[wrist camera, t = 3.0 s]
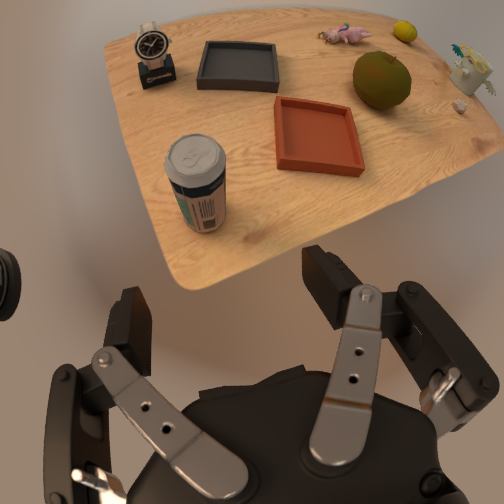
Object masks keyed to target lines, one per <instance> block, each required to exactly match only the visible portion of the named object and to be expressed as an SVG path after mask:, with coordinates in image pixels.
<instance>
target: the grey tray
mask: <svg viewBox="0 0 504 504" xmlns="http://www.w3.org/2000/svg"><path fill="white" fill-rule="evenodd" d="M279 83H280V81H279V72H278V63H277V54H276V46H275V44H269V43H258V42H242V41H206V44H205V47H204V51H203V55H202V59H201V63H200V67H199V71H198V75H197V89H223V90H249V91H263V92H275V93H277V92H278V87H279Z"/></svg>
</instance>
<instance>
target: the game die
mask: <svg viewBox="0 0 504 504" xmlns="http://www.w3.org/2000/svg"><path fill="white" fill-rule="evenodd" d="M453 107H454V108H455V110H456V111H457V112H459V113H464V112H465V111H466V107H467V105H466V104H465V102H464V101H463V100H461V99H456V100H455V101H454V106H453Z"/></svg>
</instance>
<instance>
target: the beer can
mask: <svg viewBox="0 0 504 504" xmlns="http://www.w3.org/2000/svg"><path fill="white" fill-rule="evenodd" d="M164 167H165V171H166V174H167V176H168V178H169V181H170V183H171V186H172V189H173V191H174V194H175V196H176V199H177V201H178V204H179V207H180V209H181V212H182V214H183V217H184V220H185V222H186V224H187V225H188V226H189V227H190V228H191V229H193V230H194V231H197V232H202V233H205V232H210V231H213V230H215V229H217V228H218V227H219V226H220V225H221V224H222V223H223V221H224V219H225V215H226V155H225V152H224V150H223V148H222V147H221V146H220V144H219V143H217V142H216V141H215V140H214V139H213V138H212V137H209V136H206V135H203V134H200V133H195V134H190V135H184V136H182V137H181V138H180V139H178V140H177V141H176V142H175V143H173V144H172V145H171V147H170V149H169V151H168V153H167V155H166V157H165V162H164Z"/></svg>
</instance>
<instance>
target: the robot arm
mask: <svg viewBox="0 0 504 504" xmlns="http://www.w3.org/2000/svg"><path fill="white" fill-rule="evenodd" d="M302 277H303V281H304V284H305V286H306V287H307V289H308V290H309V292H310V293H311V295H312V296H313V298H314V300H315V301H316V303H317V304H318V305H319V307H320V309H321V310H322V312H323V313H324V315H325V317H326V318H327V320H328V321H329V323H330V324H331V326H332V328H333V329H334V330H336V329H340V328H343V330H342V334H341V339H340V343H339V347H338V351H337V355H336V358H335V362H334V366H333V370H332V373H327V372H323V371H306V370H305V367H304V365H303V364H302V365H299V366H296V367H293V368H290V369H287V370H283V371H280V372H277V373H276V374H274V375H272V376H270V377H268V378H266V379H264V380H263V381H261V382H259V383H257V384H255V385H249V386H222V387H217V388H213V389H208V390H203V391H199V397H200V399H198V400H196V401H194V402H192V403H191V404H189V405H188V406H187V407H186V408H185V409H183V410H182V411H181V412H180V411H179V410H177V409H176V408H175V407H174V406H173V405H172V404H171V403H170V402H169V401H168V400H167V399H165V398H164V397H163V396H162V395H161V394H160V393H159V392H158V391H157V390H156V389H155V388H154V387H153V386H152V385H151V384H150V383H149V382H148V381H147V380H146V379H145V378H144V377H146V376H151V338H152V316H151V312H150V310H149V308H148V305H147V303H146V301H145V299H144V297H143V294H142V292H141V290H140V288H139V287H138V286H136V287H132V288H127V289H124V290H123V292H122V296H121V301H116V303H115V304H114V305H113V307H112V308H111V311H110V315H109V319H108V326H107V329H106V334H105V339H104V344H103V348H101V349H100V350H98V351H97V352H96V353H95V354H94V356H93V358H92V362H91V364H89V365H87V366H85V367H83V368H81V369H78V370H77V369H76V368H75V367H74V366H73V365H71V364H64V365H62V366H60V367H59V368H58V369H57V370H56V371H55V372H54V374H53V377H52V382H51V388H50V394H49V401H48V408H47V416H46V425H45V438H44V457H43V481H44V498H45V503H46V504H469V502H468V500H467V498H466V496H465V495H464V493H463V492H462V491H461V490H460V489H459V488H458V487H457V486H456V485H455V484H454V483H453V482H451V481H450V480H449V478H448V477H447V476H446V475H445V474H444V473H443V471H442V469H441V467H440V463H439V460H438V451H437V440H438V439H439V438H441V437H442V436H444V435H445V434H447V433H448V432H455V431H458V430H459V429H461V428H462V427H463V426H464V425H465V424H467V423H468V422H469V421H470V420H471V419H472V418H474V417H475V416H476V415H477V414H478V413H479V412H480V411H481V410H482V409H483V408H484V407H485V406H487V405H488V403H490V402H491V401H492V400H493V399H494V398H495V397H496V395H497V394H498V391H499V380H498V377H497V375H496V374H495V373H494V371H493V370H492V369H491V367H490V366H489V364H488V363H487V362H486V360H485V359H484V358H483V356H482V355H481V354H480V352H479V351H478V350H477V348H476V347H475V346H474V345H473V343H472V342H471V341H470V340H469V338H468V337H467V336H466V335H465V333H464V332H463V331H462V330H461V329H460V327H459V326H458V325H457V324H456V323H455V322H454V320H453V319H452V318H451V317H450V316H449V315H448V313H447V312H446V311H445V310H444V309H443V308H442V307H441V305H440V304H439V303H438V302H437V301H436V300H435V299H434V298H433V297H432V296H431V295H430V294H429V292H428V291H427V290H426V289H425V288H424V287H423V286H422V285H420V284H419V283H417V282H413V281H405V282H402V283H401V284H400V285H399V287H398V290H397V292H385V293H381V291H380V290H379V289H378V288H376V287H375V286H372V285H368V284H363V283H362V282H361V281H360V280H359V279H358V278H357V277H356V276H355V274H354V273H353V272H352V271H351V270H350V269H349V268H348V267H347V266H346V265H345V264H344V263H343V261H342V260H340V258H339V257H338V256H336V255H334V254H332V253H330V252H327V253H325V252H324V251H323V250H322V249H321V248H320V246H318V245H313V246H309V247H305V248H302ZM8 286H9V276H8V269H7V266H6V263H5V261H4V260H3V258H2V257H1V256H0V309H1V308H2V306H3V305H4V303H5V300H6V297H7V293H8ZM415 326H416V327H417V329H418V330H419V331H420V333H421V334H422V335H421V334H420V333H419V331H418V330H417V329H416V327H415ZM383 338H388V339H389V341H390V342H391V344H392V345H393V347H394V348H395V350H396V351H397V353H398V354H399V356H400V357H401V359H402V361H403V362H404V363H405V365H406V367H407V368H408V370H409V372H410V373H411V374H412V376H413V378H414V380H415V381H416V383H417V384H418V386H419V388H420V389H421V393H420V397H419V401H420V405H421V410H422V412H421V411H419V410H417V409H415V408H412V407H409V406H407V405H404V404H401V403H399V402H397V401H394V400H392V399H389V398H387V397H384V396H382V395H379V394H377V393H375V392H374V390H375V384H376V377H377V371H378V364H379V357H380V348H381V339H383ZM114 406H118V407H119V408H120V410H121V411H122V412H123V414H124V415H125V416H126V417H127V419H128V420H129V421H130V422H131V423H132V424H133V426H134V427H135V428H136V429H137V430H138V432H139V433H140V434H141V435H142V436H143V437H144V438H145V439H146V440H147V442H148V443H149V444H150V445H151V446H152V447H153V448H154V449H155V452H154V453H153V455H152V456H151V458H150V459H149V461H148V462H147V464H146V465H145V467H144V469H143V470H142V471H141V473H140V474H139V476H138V478H137V479H136V480H135V482H134V483H133V485H132V486H131V488H130V490H129V492H128V494H127V495H126V493H125V492H124V490H123V486H122V484H121V482H120V480H119V479H118V478H117V477H116V476H115V475H113V474H112V470H111V458H110V442H109V408H112V407H114Z"/></svg>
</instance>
